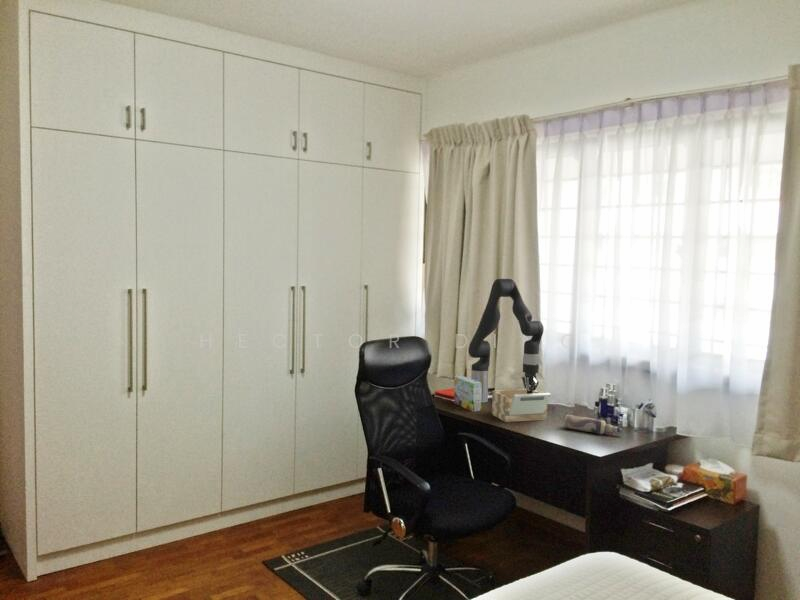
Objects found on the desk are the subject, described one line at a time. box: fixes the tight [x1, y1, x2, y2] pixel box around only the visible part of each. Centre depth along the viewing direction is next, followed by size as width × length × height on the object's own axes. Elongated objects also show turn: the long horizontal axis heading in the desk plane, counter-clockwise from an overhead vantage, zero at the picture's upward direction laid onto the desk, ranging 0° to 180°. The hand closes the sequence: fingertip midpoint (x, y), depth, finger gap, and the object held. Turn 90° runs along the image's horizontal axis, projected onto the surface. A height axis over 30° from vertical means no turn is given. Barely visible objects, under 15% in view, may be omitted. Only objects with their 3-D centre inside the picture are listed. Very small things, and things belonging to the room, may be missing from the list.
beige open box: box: [491, 388, 548, 423], centre depth 333 cm, size 16×22×12 cm
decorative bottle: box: [563, 414, 623, 435], centre depth 305 cm, size 26×8×7 cm, turn 54°
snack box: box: [453, 375, 482, 413], centre depth 352 cm, size 21×6×15 cm, turn 23°
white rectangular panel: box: [508, 392, 551, 415], centre depth 322 cm, size 2×18×12 cm, turn 107°
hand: (529, 398), depth 322 cm, fingers closed
